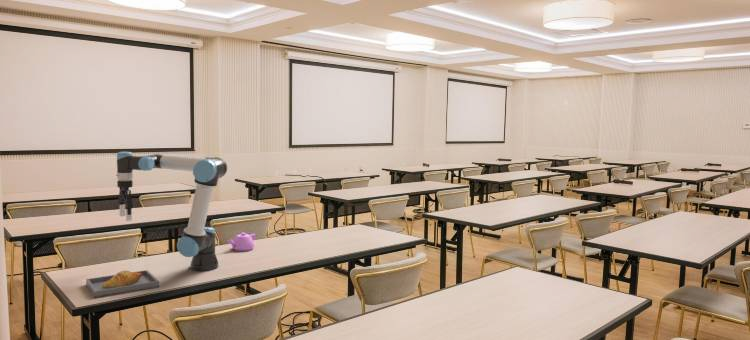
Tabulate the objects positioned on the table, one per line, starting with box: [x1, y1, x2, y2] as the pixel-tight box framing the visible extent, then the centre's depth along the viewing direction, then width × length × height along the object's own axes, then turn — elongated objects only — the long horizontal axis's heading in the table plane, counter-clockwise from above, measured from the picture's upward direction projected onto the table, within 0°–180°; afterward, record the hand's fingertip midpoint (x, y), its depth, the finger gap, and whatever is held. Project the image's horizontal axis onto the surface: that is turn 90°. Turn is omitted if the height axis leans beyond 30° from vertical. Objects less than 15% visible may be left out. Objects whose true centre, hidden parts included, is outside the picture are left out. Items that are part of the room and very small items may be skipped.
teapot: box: [227, 232, 256, 252], centre depth 337 cm, size 14×20×11 cm
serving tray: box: [85, 269, 160, 299], centre depth 261 cm, size 29×22×3 cm
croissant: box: [102, 270, 142, 288], centre depth 261 cm, size 21×10×8 cm, turn 150°
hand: (125, 218), depth 287 cm, fingers open, 13 cm apart
